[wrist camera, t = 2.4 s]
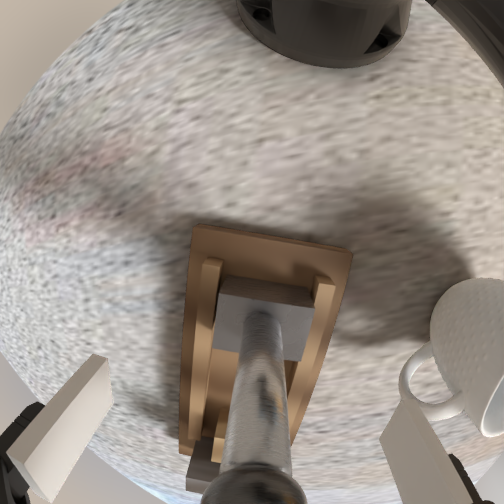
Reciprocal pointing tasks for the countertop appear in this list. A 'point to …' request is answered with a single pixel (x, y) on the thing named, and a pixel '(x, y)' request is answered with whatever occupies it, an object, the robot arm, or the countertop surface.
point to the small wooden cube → (220, 435)
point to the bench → (225, 362)
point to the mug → (466, 354)
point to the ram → (259, 389)
